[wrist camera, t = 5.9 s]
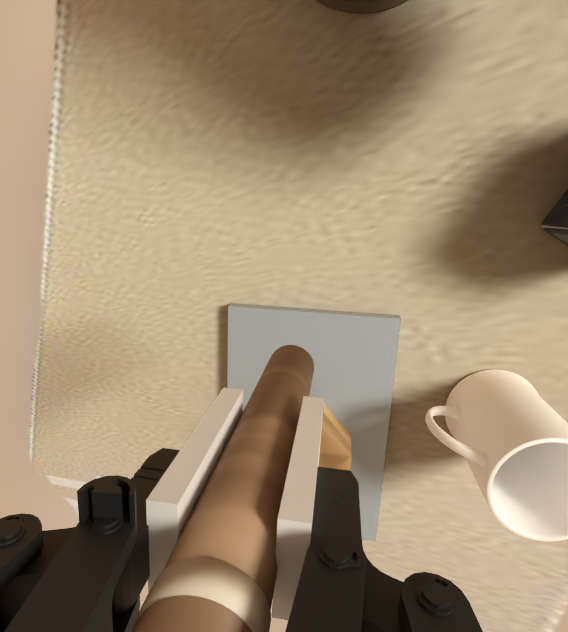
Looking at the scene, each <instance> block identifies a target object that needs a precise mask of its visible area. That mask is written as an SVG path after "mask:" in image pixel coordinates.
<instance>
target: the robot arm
mask: <svg viewBox="0 0 568 632" xmlns="http://www.w3.org/2000/svg"><path fill="white" fill-rule="evenodd" d="M317 1H319V2H320V3H322V4H324V5H326V6H328V7H331V8H333V9H337V10H340V11H344V12H350V13H371V12H378V11H382V10H386V9H389V8H392V7H395V6H397V5H399V4H402V3H404V2H406V1H407V0H317ZM242 406H243V390H242V389H233V388H223V389H222V390H221V392H220V393H219V395H218V396H217V398H216V399H215V401H214V402H213V404H212V405H211V406H210V408H209V409H208V411H207V412H206V414H205V415H204V417H203V418H202V420H201V421H200V422H199V424H198V425H197V427H196V428H195V430H194V431H193V433H192V434H191V435H190V437H189V438H188V440H187V441H186V443H185V444H184V446H183V447H182V449H181V450H173V449H165V448H162V449H160V450H159V451H157V452H156V453H154V454H152V455H151V456H149V457H148V458H147V460H146V461H145V462H144V463H143V465H142V466H141V469H139V470H138V471H137V472H136V473H135V475H134V477H133V478H131V480H130V479H128V478H127V477H122V476H105V477H101V478H98V479H94V480H92V481H90V482H88V483H86V484H85V485H83V486H82V487H81V488H80V489H79V490H78V491H77V495H78V509H79V523H78V524H77V526H76V527H73V528H67V529H58V530H48V531H42V524H41V522H40V520H39V518H37V517H35V516H34V515H31V514H16V515H10V516H7V517H4V518H1V519H0V632H132V629H133V624H134V622H135V619H136V617H137V615H138V613H139V608H140V593H141V591H142V589H143V587H144V585H145V583H146V581H147V580H148V590H149V592H150V590H151V588H152V586H153V584H154V582H155V580H156V578H157V577H158V575H159V574H160V573H161V572H162V571H163V569H164V567H165V565H166V563H167V562H168V560H169V558H170V556H171V554H172V552H173V550H174V548H175V546H176V544H177V542H178V540H179V538H180V536H181V534H182V532H183V530H184V528H185V526H186V524H187V522H188V520H189V518H190V516H191V514H192V512H193V510H194V508H195V506H196V504H197V502H198V500H199V498H200V496H201V494H202V492H203V490H204V488H205V486H206V484H207V482H208V480H209V478H210V476H211V474H212V472H213V470H214V468H215V466H216V464H217V462H218V460H219V458H220V456H221V455H222V453H223V451H224V449H225V447H226V445H227V443H228V441H229V439H230V437H231V435H232V433H233V431H234V429H235V427H236V425H237V423H238V421H239V419H240V417H241V415H242ZM323 406H324V398H317V397H308V396H304V397H303V402H302V406H301V411H300V416H299V421H298V425H297V430H296V435H295V439H294V444H293V449H292V453H291V458H290V463H289V467H288V472H287V477H286V481H285V486H284V491H283V495H282V500H281V505H280V510H279V514H278V520H277V537H276V553H275V556H276V559H277V576H276V582H275V587H274V593H273V604H272V605H273V606H272V617H274V618H280V619H285V620H288V624H287V628H286V632H483V631H482V629H481V627H480V625H479V623H478V620H477V618H476V616H475V614H474V612H473V610H472V607H471V605H470V603H469V601H468V600H467V598H466V597H465V595H464V594H463V592H462V591H461V590H460V589H459V588H458V587H457V586H456V585H454V584H453V583H452V582H451V581H449V580H447V579H445V578H443V577H441V576H439V575H437V574H432V573H427V572H422V573H414V574H412V575H411V576H409V577H408V578H406V579H405V581H404V582H401V581H399V580H397V579H395V578H392V577H390V576H388V575H386V574H384V573H382V572H381V571H379V570H378V569H377V568H376V567H374V566H373V565H372V564H371V563H370V561H369V560H368V559H367V557H366V555H365V553H364V551H363V547H362V534H361V517H360V501H359V484H358V481H357V479H356V478H355V476H354V475H353V473H352V472H351V471H350V470H342V469H334V468H326V467H318V466H319V454H320V442H321V430H322V418H323Z"/></svg>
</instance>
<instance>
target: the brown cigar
mask: <svg viewBox="0 0 568 632" xmlns="http://www.w3.org/2000/svg"><path fill="white" fill-rule="evenodd" d="M313 373H314V362H313V359H312V357H311V356H310V354H309V353H308V352H307V351H306V350H305V349H303V348H301V347H299V346H296V345H285V346H282V347H280V348H278V349H277V350H276V351H275V352H274V353H273V354H272V356H271V357H270V359H269V361H268V363H267V365H266V367H265V369H264V371H263V373H262V375H261V377H260V379H259V381H258V383H257V385H256V387H255V389H254V391H253V393H252V395H251V397H250V399H249V401H248V403H247V405H246V407H245V409H244V411H243V413H242V415H241V417H240V419H239V421H238V423H237V425H236V427H235V429H234V431H233V433H232V435H231V437H230V439H229V441H228V443H227V445H226V447H225V449H224V451H223V453H222V455H221V456H220V458H219V460H218V462H217V464H216V466H215V468H214V470H213V472H212V474H211V476H210V478H209V480H208V482H207V484H206V486H205V488H204V490H203V492H202V494H201V496H200V498H199V500H198V502H197V504H196V506H195V508H194V510H193V512H192V514H191V516H190V518H189V520H188V522H187V524H186V526H185V528H184V530H183V532H182V534H181V536H180V538H179V540H178V542H177V544H176V546H175V548H174V550H173V552H172V554H171V556H170V558H169V560H168V562H167V563H166V565H165V567H164V569H163V571H162V572H161V573H160V574H159V575H158V577H157V578H156V580H155V582H154V584H153V586H152V588H151V590H150V592H149V593H148V595H147V597H146V600H145V601H144V603H143V605H142V607H141V609H140V611H139V613H138V615H137V617H136V619H135V622H134V624H133V629H132V632H269V629H270V622H271V613H270V609H271V604H272V598H273V593H274V587H275V582H276V576H277V559H276V556H275V553H276V537H277V520H278V514H279V510H280V505H281V500H282V495H283V491H284V486H285V481H286V477H287V472H288V467H289V463H290V458H291V453H292V449H293V444H294V439H295V435H296V430H297V425H298V421H299V416H300V411H301V406H302V402H303V397H304V396H308V397H309V395H310V389H311V384H312V378H313Z"/></svg>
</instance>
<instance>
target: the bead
mask: <svg viewBox="0 0 568 632" xmlns="http://www.w3.org/2000/svg"><path fill="white" fill-rule="evenodd" d="M351 457H352V454H351V433H350V432H349V431H348V430H347V429H346V428H345V427H344V425H343V424H342V423H341V422H340V421H339V420H338V419H337V418H336V417H335V416H334V415H333V413H332V412H331V411H330V410H329V409H328V408H327V407H326V406H325V405H324V406H323V418H322V430H321V442H320V454H319V466H318V467H326V468H334V469H342V470H350V468H351Z"/></svg>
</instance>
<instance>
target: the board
mask: <svg viewBox="0 0 568 632" xmlns="http://www.w3.org/2000/svg"><path fill="white" fill-rule="evenodd" d="M400 323H401V318H400V316H398V315H384V314H370V313H356V312H343V311H329V310H315V309H301V308H287V307H273V306H260V305H246V304H232V303H231V304H230V305H229V306H228V375H227V388H233V389H242V390H243V406H242V413H243V411H244V409H245V407H246V405H247V403H248V401H249V399H250V397H251V395H252V393H253V391H254V389H255V387H256V385H257V383H258V381H259V379H260V377H261V375H262V373H263V371H264V369H265V367H266V365H267V363H268V361H269V359H270V357H271V356H272V354H273V353H274V352H275V351H276V350H277V349H278V348H280V347H282V346H285V345H296V346H299V347H301V348H303V349H305V350H306V351H307V352H308V353H309V354H310V356H311V357H312V359H313V362H314V373H313V378H312V384H311V389H310V395H309V397H317V398H324V405H325V406H326V407H327V408H328V409H329V410H330V411H331V412H332V413H333V415H334V416H335V417H336V418H337V419H338V420H339V421H340V422H341V423H342V424H343V425H344V427H345V428H346V429H347V430H348V431H349V432H350V433H351V454H352V457H351V468H350V471H351V472H352V473H353V475H354V476H355V478H356V479H357V481H358V484H359V501H360V517H361V534H362V539H363V540H370V541H376V533H377V525H378V516H379V507H380V498H381V490H382V481H383V472H384V463H385V454H386V446H387V437H388V428H389V419H390V410H391V402H392V393H393V384H394V375H395V367H396V358H397V349H398V340H399V331H400Z"/></svg>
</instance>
